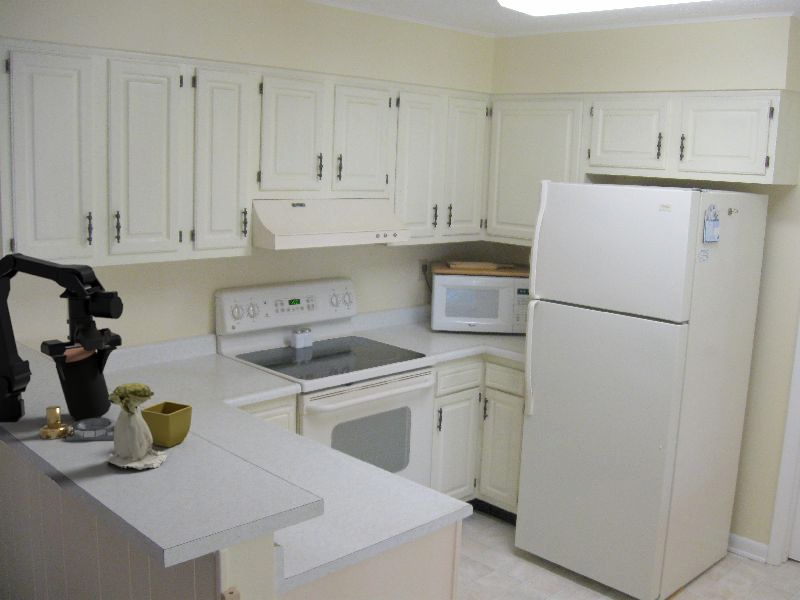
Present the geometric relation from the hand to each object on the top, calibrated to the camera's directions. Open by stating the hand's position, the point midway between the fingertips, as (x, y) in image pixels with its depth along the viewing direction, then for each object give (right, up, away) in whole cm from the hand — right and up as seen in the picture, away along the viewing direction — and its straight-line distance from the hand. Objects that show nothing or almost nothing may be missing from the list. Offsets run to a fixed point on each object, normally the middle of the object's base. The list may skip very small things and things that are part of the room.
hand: (83, 376), depth 216 cm
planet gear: (-5, -14, -5) cm, 16 cm away
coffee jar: (-1, -10, +9) cm, 14 cm away
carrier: (+8, -14, -4) cm, 16 cm away
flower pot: (+24, -15, -10) cm, 30 cm away
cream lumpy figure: (+21, -17, -22) cm, 35 cm away
